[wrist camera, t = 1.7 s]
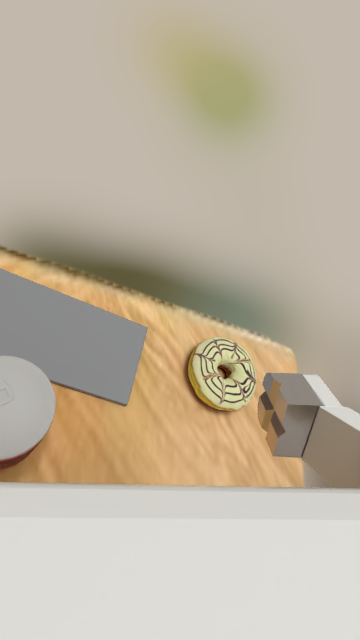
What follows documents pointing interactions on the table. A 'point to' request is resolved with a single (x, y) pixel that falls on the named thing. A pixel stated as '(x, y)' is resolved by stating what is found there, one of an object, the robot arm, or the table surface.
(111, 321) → the mat
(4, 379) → the canned food
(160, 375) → the table surface
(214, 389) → the decorated donut
